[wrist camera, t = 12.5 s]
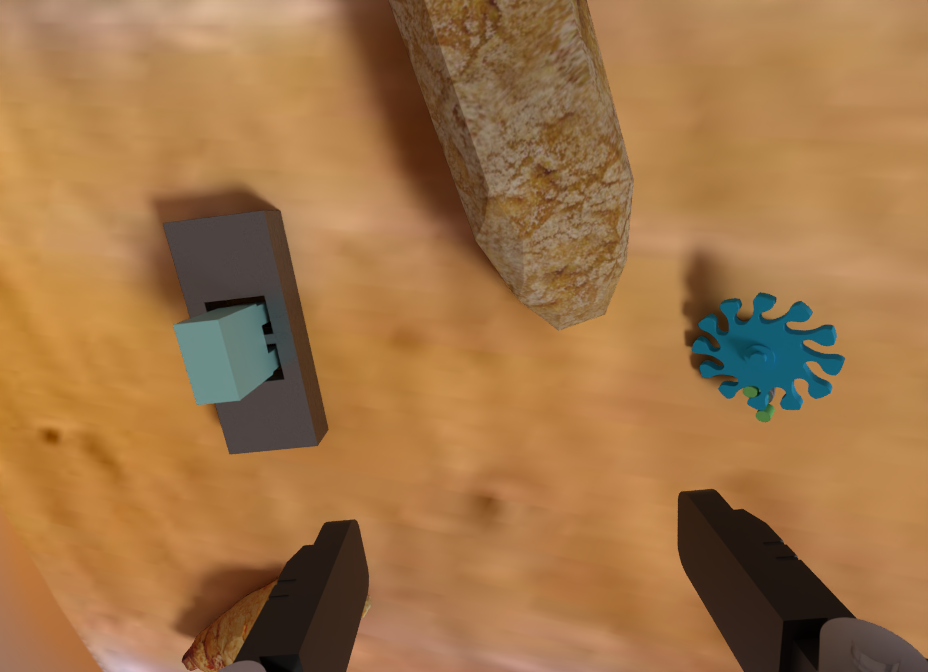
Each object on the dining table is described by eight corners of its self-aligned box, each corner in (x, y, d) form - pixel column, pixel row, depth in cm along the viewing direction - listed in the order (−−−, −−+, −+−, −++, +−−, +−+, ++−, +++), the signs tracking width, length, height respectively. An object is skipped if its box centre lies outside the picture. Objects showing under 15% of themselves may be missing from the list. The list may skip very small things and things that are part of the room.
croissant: (368, 541, 49) (335, 563, 41) (395, 639, 47) (365, 681, 39) (203, 600, 51) (143, 631, 43) (221, 696, 49) (160, 747, 41)
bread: (340, -137, 30) (278, -301, 21) (490, -213, 29) (498, -424, 20) (511, 334, 39) (523, 373, 29) (631, 291, 38) (686, 318, 28)
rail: (187, 222, 37) (162, 223, 34) (280, 210, 36) (263, 210, 33) (246, 437, 42) (229, 454, 39) (328, 429, 42) (317, 445, 39)
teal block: (234, 302, 38) (172, 324, 30) (270, 298, 38) (217, 319, 30) (251, 367, 40) (196, 404, 32) (285, 364, 39) (239, 400, 32)
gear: (689, 294, 36) (850, 306, 29) (714, 270, 39) (863, 276, 32) (689, 408, 40) (830, 443, 33) (712, 378, 44) (843, 403, 37)
